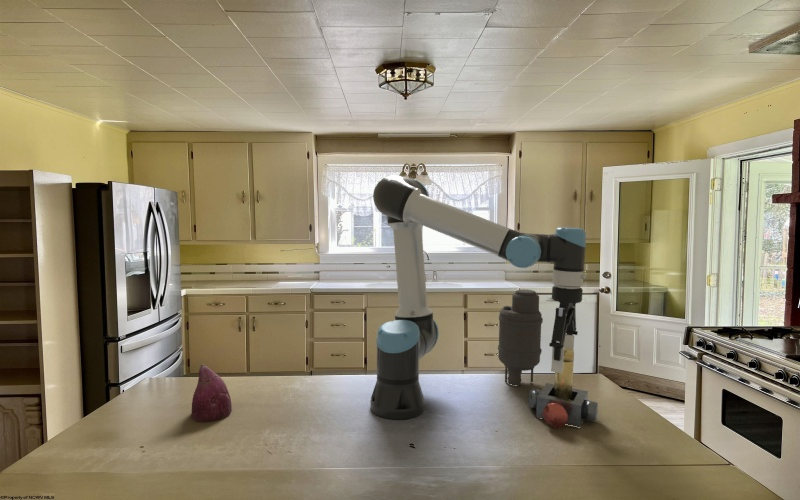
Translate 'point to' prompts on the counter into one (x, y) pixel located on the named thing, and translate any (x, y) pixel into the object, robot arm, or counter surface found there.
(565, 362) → the fitting
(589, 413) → the valve body
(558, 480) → the counter surface
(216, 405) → the vegetable
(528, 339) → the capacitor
